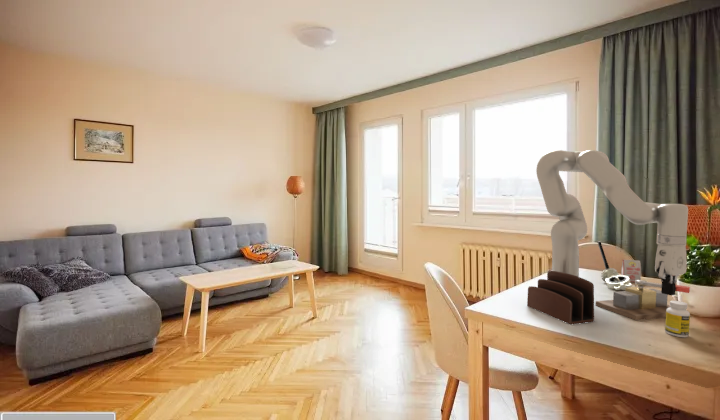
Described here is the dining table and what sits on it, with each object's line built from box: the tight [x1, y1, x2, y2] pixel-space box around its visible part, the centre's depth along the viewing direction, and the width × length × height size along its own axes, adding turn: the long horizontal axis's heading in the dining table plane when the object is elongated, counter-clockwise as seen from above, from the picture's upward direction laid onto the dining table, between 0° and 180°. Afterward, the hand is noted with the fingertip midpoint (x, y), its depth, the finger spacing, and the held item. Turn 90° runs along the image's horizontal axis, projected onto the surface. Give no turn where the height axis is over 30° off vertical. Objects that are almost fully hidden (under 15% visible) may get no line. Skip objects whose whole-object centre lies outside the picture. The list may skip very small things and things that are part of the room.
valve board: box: [595, 299, 671, 321], centre depth 130 cm, size 22×16×2 cm
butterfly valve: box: [597, 240, 633, 291], centre depth 160 cm, size 9×20×17 cm
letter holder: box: [526, 270, 595, 326], centre depth 126 cm, size 10×20×14 cm, turn 16°
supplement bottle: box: [664, 300, 691, 338], centre depth 108 cm, size 5×5×10 cm
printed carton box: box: [620, 259, 642, 283], centre depth 170 cm, size 4×7×10 cm, turn 64°
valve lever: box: [634, 279, 691, 294], centre depth 125 cm, size 15×3×2 cm, turn 43°
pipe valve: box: [612, 285, 669, 310], centre depth 129 cm, size 18×6×8 cm, turn 102°
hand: (668, 294), depth 121 cm, fingers closed
